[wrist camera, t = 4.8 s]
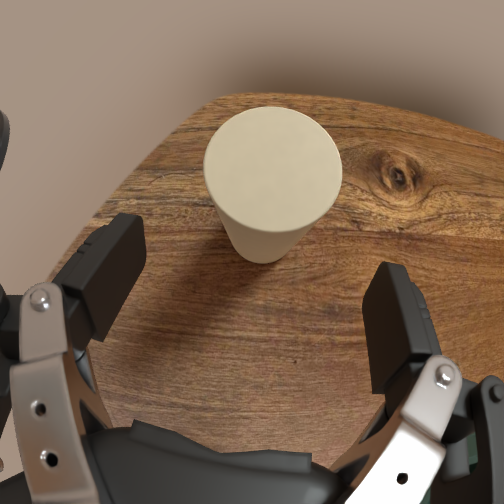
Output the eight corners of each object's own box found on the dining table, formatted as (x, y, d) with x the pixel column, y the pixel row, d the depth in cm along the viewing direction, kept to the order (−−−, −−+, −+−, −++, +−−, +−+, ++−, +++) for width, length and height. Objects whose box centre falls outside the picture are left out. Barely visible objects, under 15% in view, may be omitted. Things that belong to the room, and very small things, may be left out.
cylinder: (223, 256, 18) (188, 219, 8) (236, 193, 18) (219, 98, 8) (289, 269, 18) (334, 245, 8) (299, 205, 18) (346, 120, 8)
